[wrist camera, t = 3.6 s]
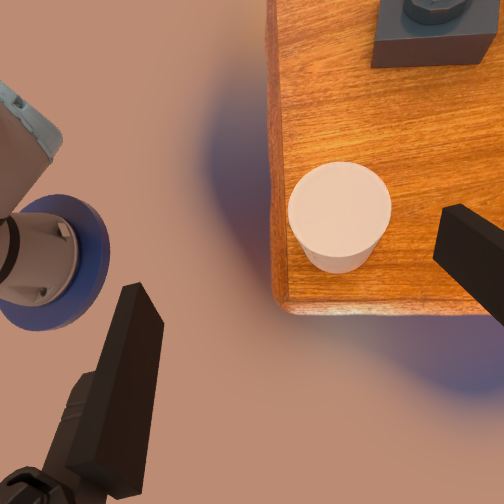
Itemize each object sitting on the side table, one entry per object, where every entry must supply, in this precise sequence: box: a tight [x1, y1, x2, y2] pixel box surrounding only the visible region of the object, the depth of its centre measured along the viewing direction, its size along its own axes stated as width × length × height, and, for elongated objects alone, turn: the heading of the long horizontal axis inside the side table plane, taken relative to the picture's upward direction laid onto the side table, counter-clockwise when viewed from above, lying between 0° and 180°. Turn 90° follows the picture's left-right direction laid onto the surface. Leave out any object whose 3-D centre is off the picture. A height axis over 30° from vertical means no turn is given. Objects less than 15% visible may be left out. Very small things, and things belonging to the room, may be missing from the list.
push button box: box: [371, 0, 500, 68], centre depth 35 cm, size 12×10×6 cm
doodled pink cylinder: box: [288, 162, 391, 274], centre depth 30 cm, size 8×8×12 cm
